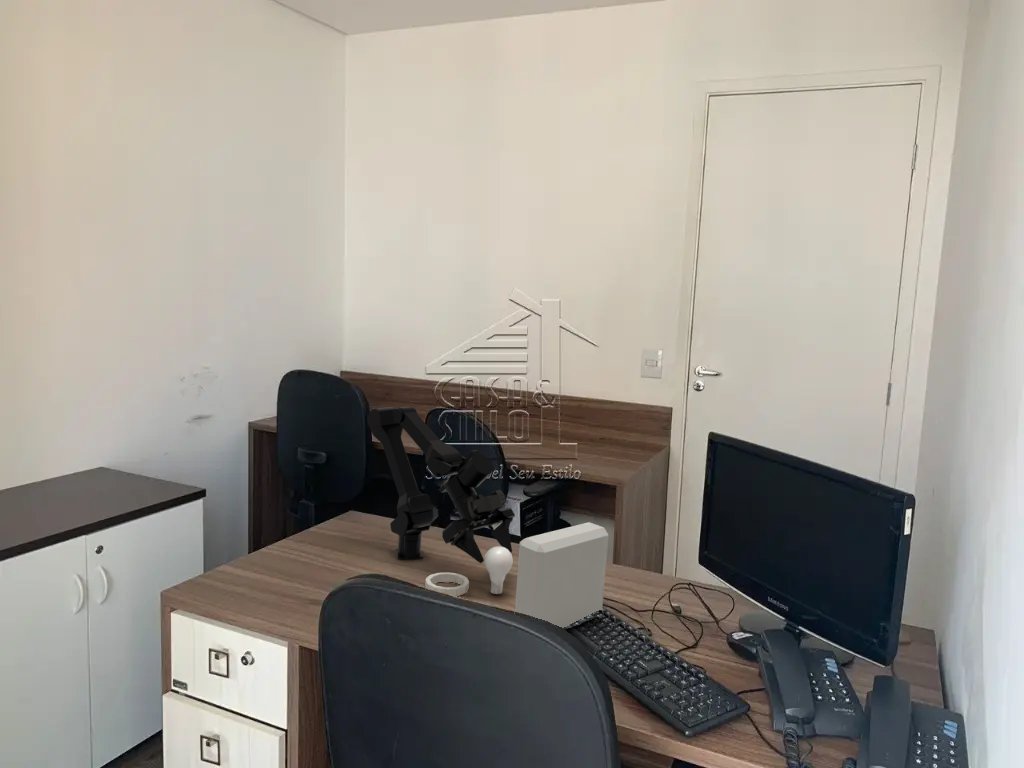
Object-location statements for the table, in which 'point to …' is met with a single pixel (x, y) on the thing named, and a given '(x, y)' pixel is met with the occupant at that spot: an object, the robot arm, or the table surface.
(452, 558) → the table surface
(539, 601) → the bevelled white case
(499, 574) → the lightbulb
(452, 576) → the socket
